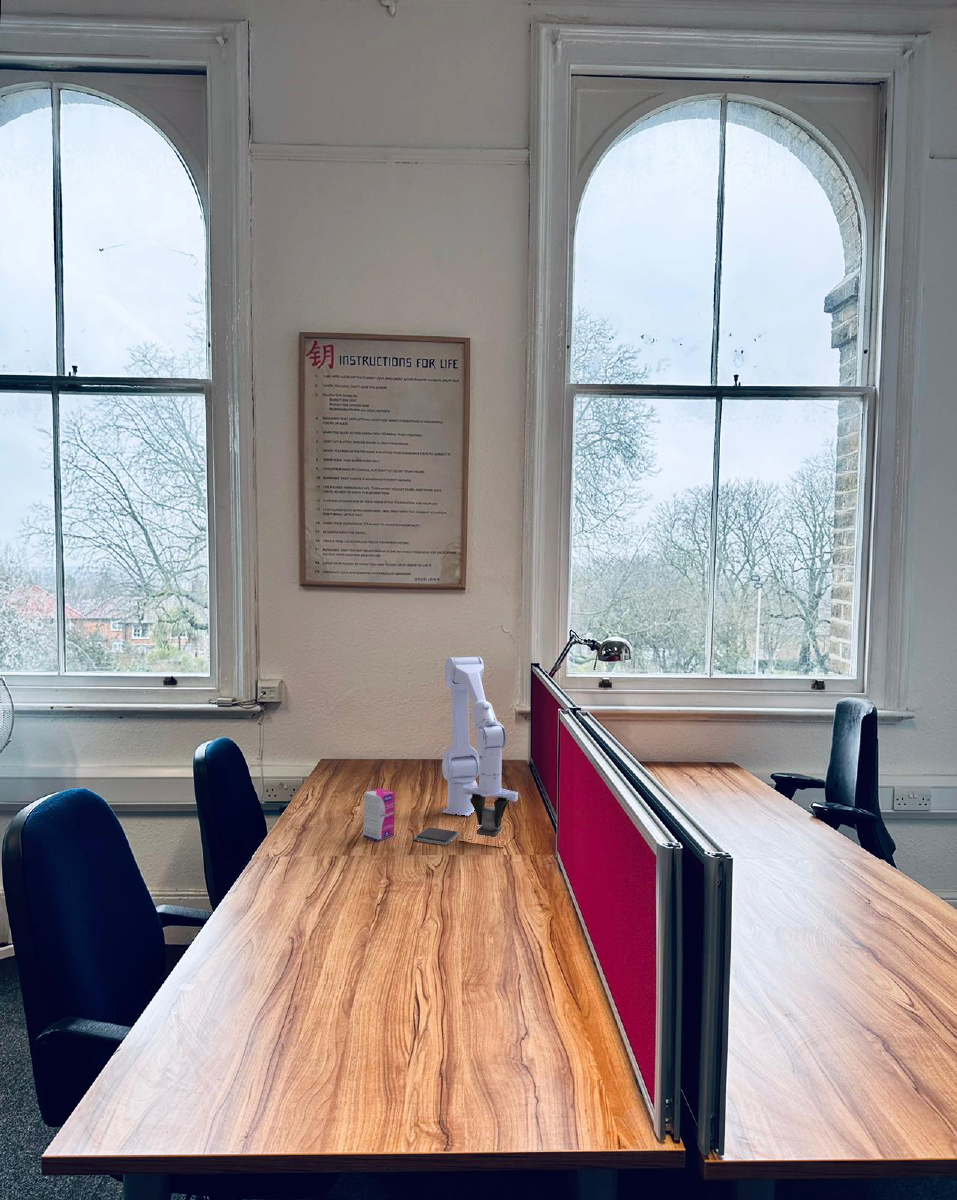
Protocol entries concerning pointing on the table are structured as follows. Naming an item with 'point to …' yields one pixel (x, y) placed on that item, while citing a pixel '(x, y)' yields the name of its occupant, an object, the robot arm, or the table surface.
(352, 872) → the table surface
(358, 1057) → the table surface
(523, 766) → the table surface
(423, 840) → the ink pad
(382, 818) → the supplement box
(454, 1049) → the table surface
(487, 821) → the stamp
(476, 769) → the robot arm
